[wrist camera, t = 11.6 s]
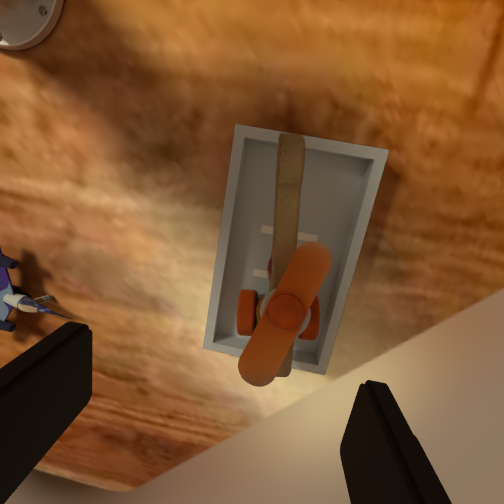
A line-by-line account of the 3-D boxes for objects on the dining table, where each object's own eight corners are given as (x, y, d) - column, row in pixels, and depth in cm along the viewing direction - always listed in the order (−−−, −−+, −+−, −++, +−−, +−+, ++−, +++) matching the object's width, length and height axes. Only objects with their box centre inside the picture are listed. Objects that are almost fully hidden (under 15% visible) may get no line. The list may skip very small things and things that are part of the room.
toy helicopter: (241, 328, 33) (214, 427, 20) (245, 142, 28) (213, 108, 15) (311, 334, 33) (331, 440, 19) (329, 143, 27) (373, 109, 14)
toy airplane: (91, 311, 36) (70, 325, 32) (11, 344, 39) (-15, 360, 35) (34, 217, 34) (6, 221, 30) (-46, 260, 36) (-81, 269, 33)
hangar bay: (240, 129, 29) (235, 123, 26) (378, 152, 28) (389, 149, 25) (209, 334, 35) (202, 348, 32) (321, 358, 34) (324, 375, 31)
